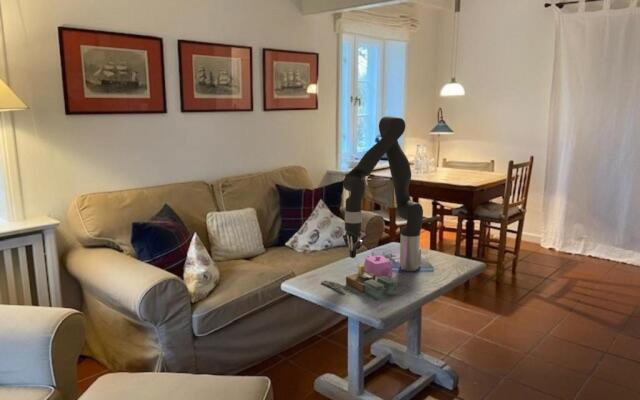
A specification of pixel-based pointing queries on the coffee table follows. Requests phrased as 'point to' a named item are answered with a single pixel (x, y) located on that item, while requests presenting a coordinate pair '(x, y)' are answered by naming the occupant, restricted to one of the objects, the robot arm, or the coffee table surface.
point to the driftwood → (338, 287)
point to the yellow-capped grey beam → (362, 272)
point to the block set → (373, 286)
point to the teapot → (378, 266)
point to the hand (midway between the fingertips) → (352, 257)
